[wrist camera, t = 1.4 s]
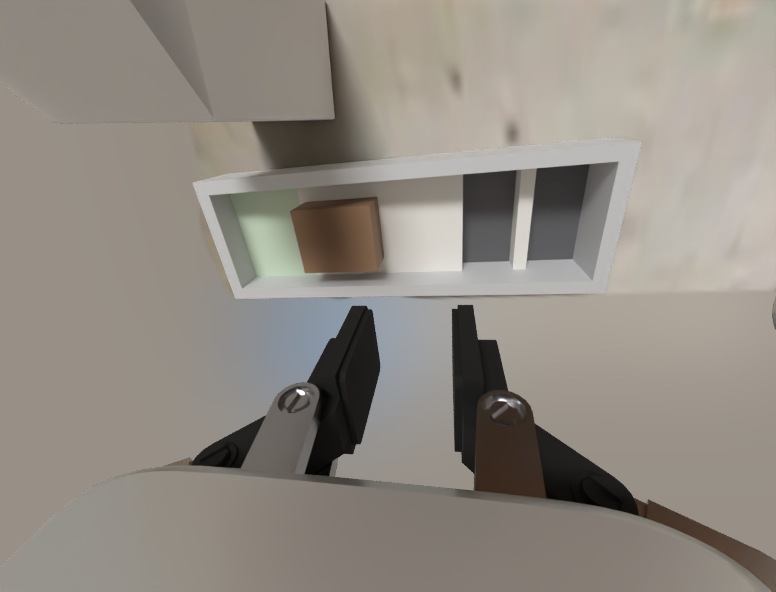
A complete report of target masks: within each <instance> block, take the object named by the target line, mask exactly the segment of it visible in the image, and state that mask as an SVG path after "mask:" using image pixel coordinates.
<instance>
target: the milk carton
mask: <svg viewBox="0 0 776 592" xmlns="http://www.w3.org/2000/svg"><path fill="white" fill-rule="evenodd" d="M0 83H1V84H2V85H4V86H5V87H7V88H8V89H9V90H10V91H11V92H13V93H14V94H15V95H17V96H18V97H19V98H20V99H22V100H23V101H24V102H26V103H27V104H28V105H29V106H31V107H32V108H33V109H34V110H36V111H37V112H38V113H40V114H41V115H42V116H44V117H45V118H46V119H47V120H49V121H50V122H52V123H59V124H85V123H86V124H89V123H90V124H91V123H165V122H166V123H167V122H242V121H298V120H332V119H335V114H334V103H333V91H332V79H331V67H330V56H329V44H328V32H327V20H326V9H325V0H0Z"/></svg>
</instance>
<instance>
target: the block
mask: <svg viewBox="0 0 776 592" xmlns="http://www.w3.org/2000/svg"><path fill="white" fill-rule="evenodd" d="M290 214H291V218H292V222H293V226H294V230H295V234H296V239H297V243H298V247H299V251H300V255H301V259H302V263H303V267H304V271H305V273H334V272H369V271H378V269H379V267H380V265H381V263H382V260H383V258H384V251H383V242H382V233H381V225H380V216H379V207H378V198H377V197H367V198H353V199H340V200H326V201H312V202H305V203H303V204H301V205H299V206H298V207H296V208H294V209H293V210H291V211H290Z"/></svg>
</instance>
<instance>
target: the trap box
mask: <svg viewBox="0 0 776 592" xmlns="http://www.w3.org/2000/svg"><path fill="white" fill-rule="evenodd" d="M641 145H642V141H635V140H626V139H618V138H609V137H607V138H597V139H586V140H576V141H565V142H555V143H545V144H534V145H524V146H513V147H503V148H492V149H482V150H471V151H461V152H450V153H440V154H429V155H419V156H409V157H398V158H388V159H377V160H367V161H356V162H346V163H335V164H325V165H314V166H304V167H293V168H283V169H273V170H262V171H252V172H241V173H231V174H225V175H221V176H217V177H213V178H209V179H205V180H201V181H197V182H193V186H194V188H195V191H196V194H197V196H198V199H199V202H200V205H201V207H202V210H203V213H204V215H205V218H206V221H207V223H208V226H209V229H210V231H211V234H212V237H213V240H214V242H215V245H216V248H217V250H218V253H219V256H220V258H221V261H222V264H223V266H224V269H225V272H226V275H227V277H228V280H229V283H230V285H231V288H232V291H233V293H234V296H235V298H236V299H246V298H315V297H316V298H317V297H389V296H460V295H531V294H603V293H605V291H606V287H607V283H608V279H609V275H610V271H611V267H612V263H613V259H614V254H615V250H616V246H617V242H618V238H619V234H620V230H621V226H622V222H623V218H624V214H625V210H626V206H627V202H628V197H629V193H630V189H631V185H632V181H633V177H634V173H635V169H636V165H637V161H638V157H639V153H640V149H641ZM367 197H377V198H378V207H379V216H380V225H381V233H382V242H383V251H384V258H383V260H382V263H381V265H380V267H379V269H378V271H369V272H334V273H305V271H304V267H303V263H302V259H301V255H300V251H299V247H298V243H297V239H296V234H295V230H294V226H293V222H292V218H291V214H290V211H291V210H293V209H294V208H296V207H298V206H299V205H301V204H303V203H305V202H312V201H326V200H340V199H353V198H367Z"/></svg>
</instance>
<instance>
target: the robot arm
mask: <svg viewBox="0 0 776 592" xmlns="http://www.w3.org/2000/svg"><path fill="white" fill-rule="evenodd" d="M772 318H773V323H774V327H775V329H776V299H775V301H774V304H773V313H772ZM452 351H453V352H452V354H453V355H452V359H453V360H452V361H453V403H454V404H453V405H454V441H455V442H454V443H455V452H461V453H462V463H463V464H464V465H465V466H467V467H468V468H469V469H470V470H471V471H472V472H473V473H474V491H471V490H461V489H452V488H442V487H432V486H422V485H412V484H402V483H392V482H381V481H371V480H359V479H350V478H340V477H335V473H336V469H337V461H338V459H337V458H338V457H340V456H341V455H343V454H353V453H354V449H355V445H356V444H361V441H362V438H363V434H364V430H365V426H366V422H367V418H368V414H369V411H370V407H371V403H372V399H373V396H374V392H375V388H376V384H377V380H378V376H379V372H380V359H379V352H378V346H377V339H376V332H375V325H374V318H373V312H372V310H371V309H368V308H367V306H352V307H351V309H350V311H349V313H348V315H347V317H346V319H345V321H344V323H343V325H342V327H341V329H340V331H339V333H338V335H337V337H336V338H332V339H330V341H329V342H328V343H327V345H326V347H325V349H324V351H323V353H322V355H321V357H320V359H319V361H318V363H317V364H316V366H315V369H314V370H313V372H312V374H311V376H310V378H309V380H308V381H307V383H305V382H302V383H296V384H293V385H290V386H288V387H286V388H285V389H283V390H282V391H281V392H280V393H278V395H277V396H276V397H275V399H274V401H273V403H272V405H271V407H270V409H269V411H268V413H267V415H266V416H264V417H262V418H260V419H258V420H257V421H255V422H253V423H251V424H249V425H247V426H245V427H243V428H241V429H240V430H238V431H236V432H234V433H232V434H230V435H228V436H227V437H225V438H223V439H221V440H219V441H217V442H215V443H213V444H212V445H210V446H208V447H207V448H205V449H204V450H203V451H202V452H201V453H200V454H199V455H197V457H196V458H195V459H194V460H193V461H192V460H191V458H190V457H189V458H186V459H183V460H180V461H177V462H174V463H172V464H168V465H165V466H162V467H155V468H149V469H143V470H137V471H133V472H130V473H126V474H123V475H119V476H116V477H113V478H111V479H108V480H106V481H103V482H100V483H98V484H96V485H94V486H92V487H91V488H89V489H87V490H85V491H84V492H82V493H81V494H79V495H78V496H77V497H76V498H74V499H73V500H71V501H70V502H69V503H68V504H66V505H65V506H64V507H63V508H62V509H60V510H59V511H58V512H57V513H56V514H55V515H54V516H53V517H52V518H50V519H49V520H48V521H47V522H46V523H45V524H44V525H43V526H42V527H41V528H40V529H38V530H37V531H36V532H35V533H34V534H33V535H32V536H31V537H30V538H29V539H28V540H27V541H26V542H25V543H24V544H23V545H22V546H21V547H20V548H19V549H18V550H17V551H15V552H14V553H13V554H12V555H11V556H10V558H8V559H7V560H6V561H5V562H4V563H3V564H2V565H1V566H0V592H776V560H775V559H773V558H772V557H770V556H768V555H766V554H765V553H763V552H761V551H759V550H757V549H755V548H753V547H750V546H748V545H746V544H744V543H742V542H740V541H738V540H735V539H733V538H731V537H729V536H727V535H724V534H722V533H720V532H718V531H716V530H713V529H711V528H709V527H707V526H705V525H703V524H701V523H698V522H696V521H694V520H692V519H690V518H688V517H685V516H683V515H681V514H679V513H677V512H675V511H672V510H670V509H668V508H666V507H664V506H662V505H659V504H657V503H655V502H653V501H651V500H648V501H647V503H644V502H642V501H639V500H638V499H635V498H633V496H632V494H631V493H630V492H629V491H628V490H627V488H626V487H625V486H624V485H623V484H622V483H621V482H619V481H618V480H617V479H616V478H615V477H613V476H612V475H610V474H609V473H607V472H606V471H604V470H603V469H601V468H600V467H598V466H597V465H595V464H594V463H592V462H591V461H589V460H588V459H586V458H585V457H583V456H582V455H580V454H579V453H577V452H576V451H575V450H573V449H572V448H570V447H569V446H567V445H566V444H564V443H563V442H561V441H560V440H558V439H557V438H555V437H554V436H552V435H551V434H549V433H548V432H547V431H545V430H544V429H542V428H541V427H539V426H538V425H536V424H535V423H534V417H533V412H532V409H531V406H530V405H529V404H528V402H527V401H526V400H525V399H523V398H522V397H521V396H519V395H517V394H515V393H513V392H510V391H508V389H507V384H506V380H505V375H504V371H503V367H502V362H501V358H500V353H499V349H498V345H497V341H496V340H478V337H477V330H476V323H475V317H474V309H473V305H458V309H452Z"/></svg>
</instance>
